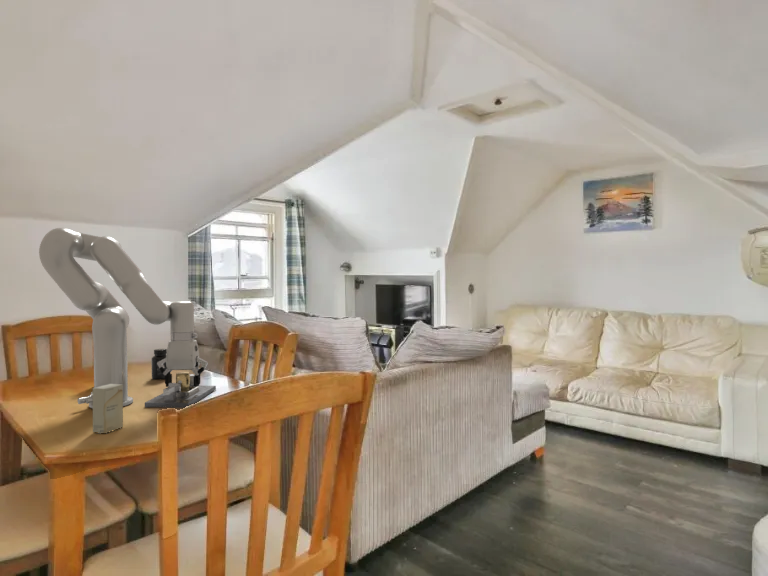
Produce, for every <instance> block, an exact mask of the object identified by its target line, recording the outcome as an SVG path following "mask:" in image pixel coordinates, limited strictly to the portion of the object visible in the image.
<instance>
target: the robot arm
mask: <svg viewBox="0 0 768 576" xmlns="http://www.w3.org/2000/svg"><path fill="white" fill-rule="evenodd" d="M38 254H39V260H40V264H41V265H42V267H43V268H44V270H45V271H46V273H47V274H48V275H49V276H50V279H52V280H53V282H55V284H57V286H58V287H59V289H60V290H61V291H62V292H63V293H64V294H65V295H66V297H68V299H69V300H70V301H71V303H72V304H73V305H74V306H75V307H76V308H77V309H79V310H81V311H85V312H86V314H88V315H89V316H90V317H91V319H92V323H91V325H92V326H91V331H92V342H93V388H96V387H100V386H104V385H108V384H122V385H123V407H125V406H128V405H130V404H132V403H133V402H134V397H132V396H129V395H128V394H129V393H128V392H129V391H128V390H129V388H128V387H129V385H128V377H129V376H128V374H129V373H128V340H127V339H128V336H127V334H128V333H127V329H128V327H129V325H130V315H129V313H128V312H127V310H126V309H125V308H124V307H123V306H122V304H120V302H119V301H118V300H117V299H116V297H114V295H113V294H112V293H111V292H110V291H109V290H108V288H107V287H106V286H104V284H102V283H100V282H98V281H94V280H93V279H92V278H91V277H90V276H89V275H88V273H87V272H86V271H85V270H84V268H83V267H82V265H80V264H79V263H78V262H77V260H76V259H75V258H77V259H82V260H88V261H95V262H96V263H98V265H99V266H100V267H101V268H102V269H103V270H104V271H105V273H107V275H108V276H109V277H110V279H111V280H112V281H113V282H114V283H115V285H116V286H117V287H118V289H119V290H120V291H121V293H123V294H124V296H125V297H126V298H127V299H128V300H129V302H130V303H131V304H132V305H133V307H134V308H135V309H136V310H137V311H138V312H139V314H140V315H141V317H143V319H144V320H146V322H147V323H149V324H150V325H151V324H152V325H157V326H158V325H162V324H164V323H165V322H170V324H169V325H170V329H169V330H170V331H169V332H170V333H169V334H170V335H169V336H170V340H169V341H168V343H167V348H166V349H167V354H166V358H165V359H163V360H161V361H159V362H157V365H158V366H159V368H160V371H161V372H162V373H163V375H165V379H164V384H165V387H166V388H167V387H169V383H173V374H172V371H191V372H192V374H194V387H197V386H200V384H201V374H203V372H204V371H205V370H206V368H207V366H208V364H209V362H208V361H206V360H205V359H203V358H201V357H200V352H199V351H200V350H199V345H198V341H197V340H196V338H199V337H198V336H199V334H198V333H195V306H194V305H195V304H194V303H193V302H192V301H188V300H185V301H184V300H182V301H181V300H179V301H178V300H177V301H165V300H162V299H161V298H160V297H159V296H158V294H157V293H156V292H155V291H154V290H153V288H152V286H151V285H150V284H149V283H148V281H147V279H146V277H145V274H144V273H143V272H142V270H141V269H140V268H139V267H138V266H137V263H135V262H134V261H133V260H132V258H131V257H130V256H129V254H128V253H126V251H125V249H124V248H123V247H122V244H121V243H120V241H118V240H116V239H115V238H113V237H111V236H106V235H105V236H98V235H92V234H88V233H83V232H78V231H74V230H73V229H69V228H66V227H57V228H56V227H55V228H53V229H51V230H49V231H48V232H47V233H46V234H45V235H44V236H43V238H42V239H41V241H40V244H39V249H38ZM165 362H166V367H167V369H166V368H165V367H164V365H163V364H164V363H165ZM200 364H201V367H200ZM199 367H200V368H199ZM77 404H78V405H81V404H83V405H84V404H87V405H88V407H89V408H90V409H93V391H91V392H90V394H89V395H88V396H82V397H79V398H77Z"/></svg>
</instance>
